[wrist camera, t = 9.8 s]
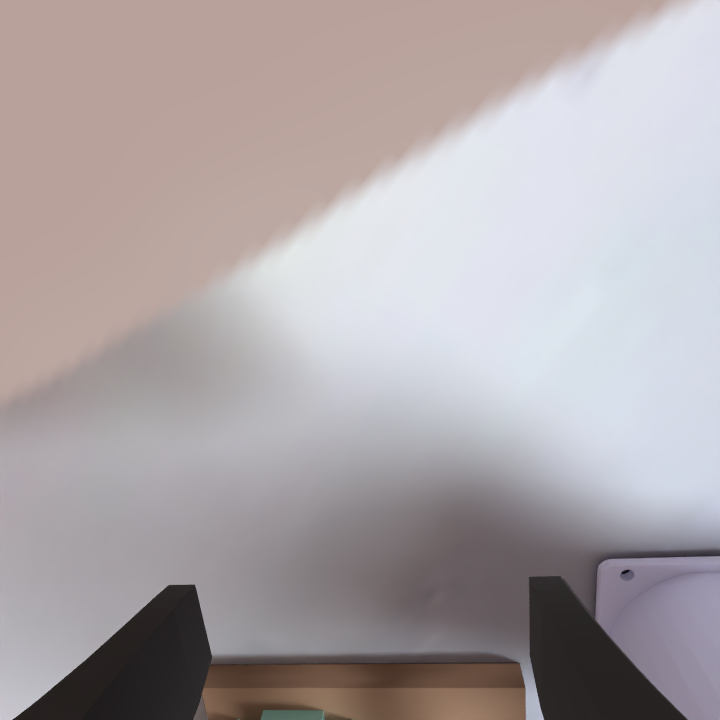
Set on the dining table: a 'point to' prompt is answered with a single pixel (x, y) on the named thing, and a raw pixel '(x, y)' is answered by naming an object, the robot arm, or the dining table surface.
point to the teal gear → (292, 715)
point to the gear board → (368, 691)
